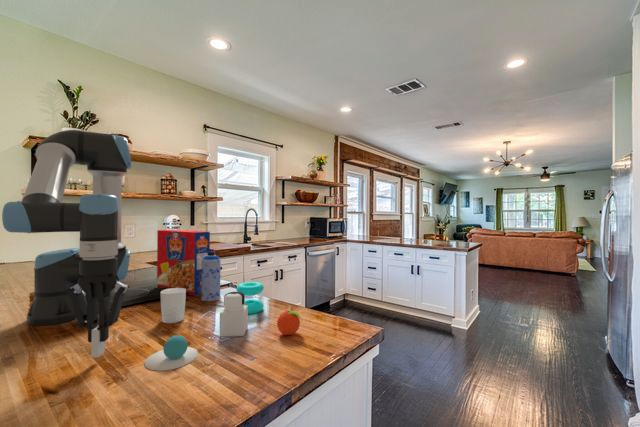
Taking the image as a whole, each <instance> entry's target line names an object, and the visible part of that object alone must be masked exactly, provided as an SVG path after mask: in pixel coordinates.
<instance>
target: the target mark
mask: <svg viewBox="0 0 640 427" xmlns="http://www.w3.org/2000/svg"><path fill="white" fill-rule="evenodd" d="M198 356H199V352H198V350H197V349H196V348H193V347H192V346H191V347H190V346H188V347H187V350H186V352H185V354H184V355H183V356H181V357H180V358H177V359H169V358H168V357H166V356H165V354H164V351H163V349H161V350H159V351H156V352H154V353H152V354H151V355H149V356H148V357H146V358H145V361H144V366H145V368H146V369H148V370H151V371H159V372H160V371H163V372H164V371H171V370H175V369H179V368H182V367H184V366H187V365H189V364H191V363H192V362H193V361H196V359H197V358H198Z"/></svg>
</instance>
